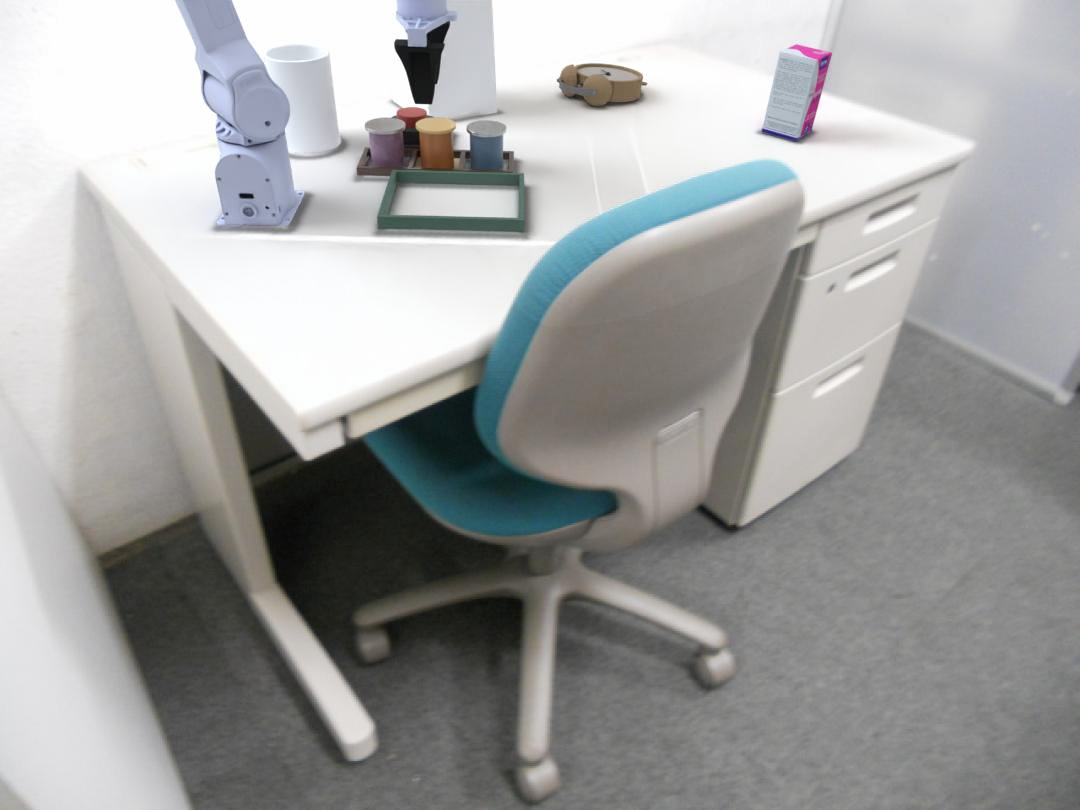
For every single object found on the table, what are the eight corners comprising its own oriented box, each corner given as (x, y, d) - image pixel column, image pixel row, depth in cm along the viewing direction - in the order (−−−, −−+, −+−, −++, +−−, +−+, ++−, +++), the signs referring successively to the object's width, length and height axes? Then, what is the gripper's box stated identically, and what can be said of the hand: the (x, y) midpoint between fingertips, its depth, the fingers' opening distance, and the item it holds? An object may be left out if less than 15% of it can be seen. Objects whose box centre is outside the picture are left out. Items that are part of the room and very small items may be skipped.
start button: (428, 120, 112) (428, 107, 111) (425, 130, 109) (425, 117, 108) (399, 119, 112) (398, 106, 111) (395, 129, 109) (394, 116, 108)
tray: (523, 236, 92) (524, 220, 91) (378, 233, 92) (377, 216, 90) (523, 188, 102) (524, 172, 101) (393, 184, 102) (392, 169, 101)
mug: (252, 137, 113) (235, 45, 105) (307, 123, 118) (294, 34, 110) (299, 162, 106) (284, 66, 99) (354, 147, 111) (344, 54, 104)
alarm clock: (658, 77, 131) (595, 76, 121) (651, 109, 133) (589, 111, 123) (607, 60, 137) (543, 59, 127) (601, 91, 140) (538, 92, 130)
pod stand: (513, 183, 104) (513, 171, 103) (357, 179, 103) (356, 167, 102) (513, 162, 109) (513, 151, 108) (366, 158, 108) (364, 147, 107)
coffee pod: (455, 174, 104) (454, 131, 100) (416, 173, 104) (413, 130, 100) (458, 159, 108) (457, 117, 104) (420, 158, 107) (417, 116, 104)
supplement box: (797, 142, 118) (817, 59, 111) (760, 132, 121) (776, 50, 114) (813, 132, 122) (833, 50, 115) (776, 122, 125) (793, 42, 117)
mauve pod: (405, 174, 104) (402, 132, 100) (366, 173, 103) (361, 130, 100) (410, 159, 108) (407, 117, 104) (371, 158, 107) (367, 116, 104)
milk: (392, 101, 126) (377, -95, 110) (458, 90, 132) (453, -99, 116) (429, 125, 119) (418, -82, 103) (497, 112, 124) (497, -87, 108)
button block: (452, 135, 116) (451, 112, 114) (448, 157, 110) (447, 133, 108) (381, 133, 115) (379, 110, 113) (372, 155, 109) (370, 131, 107)
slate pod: (505, 176, 104) (506, 134, 101) (466, 175, 104) (465, 133, 101) (506, 161, 108) (506, 120, 105) (468, 160, 108) (467, 119, 104)
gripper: (451, -16, 87) (455, 113, 95) (459, -42, 98) (462, 75, 107) (384, -18, 87) (394, 112, 95) (400, -44, 98) (407, 74, 106)
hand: (426, 93), depth 101 cm, fingers open, 7 cm apart
